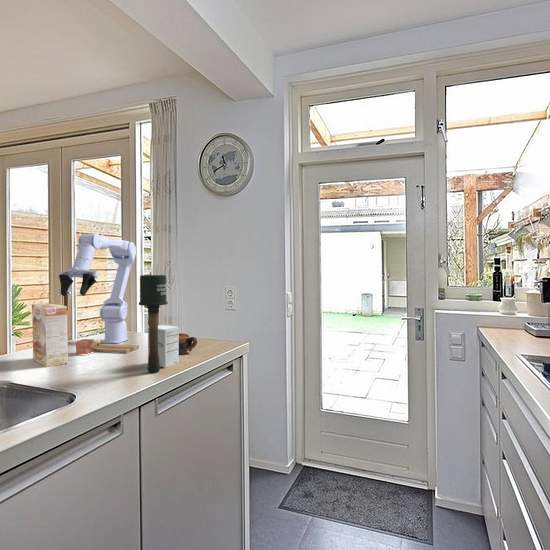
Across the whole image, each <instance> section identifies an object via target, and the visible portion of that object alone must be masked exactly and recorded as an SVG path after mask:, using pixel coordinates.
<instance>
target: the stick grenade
mask: <svg viewBox="0 0 550 550" xmlns="http://www.w3.org/2000/svg"><path fill="white" fill-rule="evenodd" d="M138 305H139V306H145V307H146V309H147V324H148V328H149V358H148V357H147V371H148V372H149V373H150V374H151V373H153V374H154V373H156V374H157V373H159V372H160V370H161V367H160V364H159V354H158V326H159V324H160V322H159V321H160V320H159V319H160V317H159V316H160V308H161V306H165V305H168V301H167V275H165V274H141V275H140V276H139V302H138Z"/></svg>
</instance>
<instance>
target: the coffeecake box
mask: <svg viewBox="0 0 550 550" xmlns="http://www.w3.org/2000/svg"><path fill="white" fill-rule="evenodd" d="M31 320H32V325H31V326H32V327H31V328H32V360H33V361H35V362H37V363H38V364H40V365H42V366H43V367H45V368H51V367H55V365H57V366H61V365H60V364H63V365H66V364H65V363H69V362H68V361H69V359H68V358H69V357H68V356H69V355H68V351H69V350H68V307H67V305H66V306H65V305H62V304H57V303H55V302H54V303H53V302H49V303H48V302H47V303H46V302H45V303H33V304H31ZM50 366H51V367H50Z"/></svg>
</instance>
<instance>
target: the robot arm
mask: <svg viewBox="0 0 550 550" xmlns="http://www.w3.org/2000/svg"><path fill="white" fill-rule="evenodd" d="M77 242H78V245H77V253H76V256H75V259H74V262H73V265H72V267H71V268H70V269H65V270H61V271H59V272H60V273H59V275H58V278H59V282H60V292H59V293H60V295H61V296H63V297H66V295H67V293H68V292H69V289H70V287H71V285H72V284H73V283H74V280H73V279H72V278H80V279H82V282H81V286H80V289H79V294H80V295H81V296H83V297H85V296H86V294H87V292H88V291H89V290H90V289H91V287H92V286H93V285H94V284H96V282H97V280H96V279H98V278H99V275H100V273H99V272H98V271H97V270H92V269H91V270H90V268H91V267H92V263H93V260H94V256H95V254H96V250H103V251H104V250H106V249H108V248H109V249H108V250H109V253H110V254H111V257H112V259H113V261H114V263H116V264H117V265H118V267H117V271H116V274H115V277H114V282H113V285H112V290H111V294H110V297H109V298H107V299H106V300H104V301H103V304H102V306H101V307H100V309H99V316H100V319H101V320H102V321H103V322H104V340H100V343H99V344H120V343H123V342H126V341H127V340H129V339H130V338H129V337H128V325H127V322H126V321H125V320H126V318H127V315H128V306H129V305H128V303H127V302H126V301H125V300H124V297H125V292H126V288H127V284H128V280H129V276H130V273H131V269H132V268H131V267H132V265H133V263H134V262H135V259H136V255H137V247H136V245H135V243H134V242H133V241H128V240H124V239H110V238H109V237H108V236H106V235H104V233H96V232H95V233H94V232H93V233H83V234H81V235H79V236H78V241H77Z"/></svg>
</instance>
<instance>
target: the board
mask: <svg viewBox="0 0 550 550" xmlns="http://www.w3.org/2000/svg"><path fill="white" fill-rule="evenodd" d="M139 347H140V346H139V344H119V343H99V346H97V344H95V345H94V351H100V352H99V353H108V352H120V353H119V354H129V353H130V352H133V351H136V350H138V349H139ZM128 352H129V353H128Z"/></svg>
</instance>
